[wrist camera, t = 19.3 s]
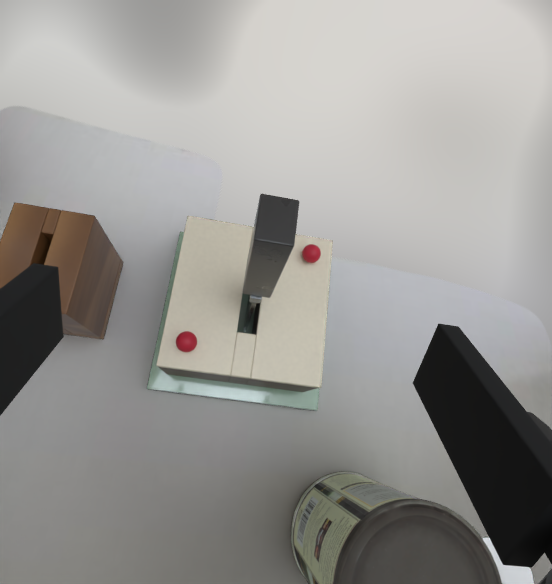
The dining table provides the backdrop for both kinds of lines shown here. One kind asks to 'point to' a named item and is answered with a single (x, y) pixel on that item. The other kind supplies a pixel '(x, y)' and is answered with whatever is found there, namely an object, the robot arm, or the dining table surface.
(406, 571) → the coffee can
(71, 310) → the knife block
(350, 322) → the dining table surface
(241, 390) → the cake platter
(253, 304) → the knife
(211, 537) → the dining table surface
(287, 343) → the cake
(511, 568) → the wineglass
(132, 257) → the dining table surface
